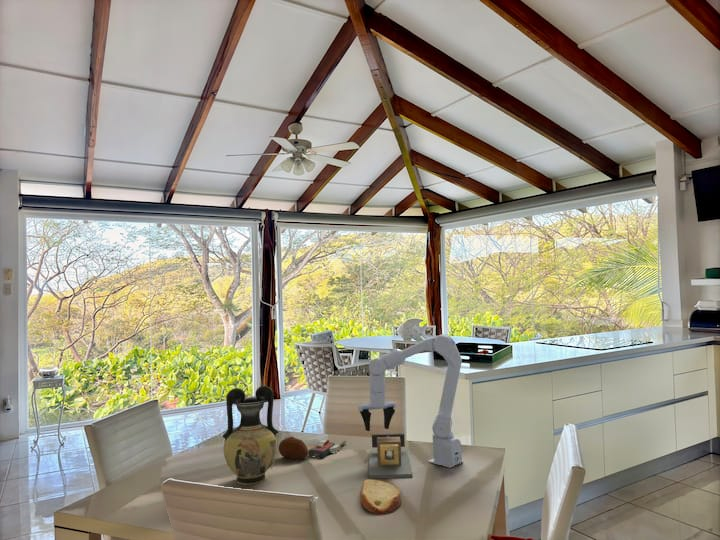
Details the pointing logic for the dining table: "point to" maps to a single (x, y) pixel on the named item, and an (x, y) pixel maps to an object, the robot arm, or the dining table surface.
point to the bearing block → (388, 442)
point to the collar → (386, 448)
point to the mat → (389, 467)
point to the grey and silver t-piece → (401, 435)
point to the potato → (293, 448)
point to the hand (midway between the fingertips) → (377, 429)
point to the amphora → (250, 436)
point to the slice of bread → (380, 497)
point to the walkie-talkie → (324, 448)
